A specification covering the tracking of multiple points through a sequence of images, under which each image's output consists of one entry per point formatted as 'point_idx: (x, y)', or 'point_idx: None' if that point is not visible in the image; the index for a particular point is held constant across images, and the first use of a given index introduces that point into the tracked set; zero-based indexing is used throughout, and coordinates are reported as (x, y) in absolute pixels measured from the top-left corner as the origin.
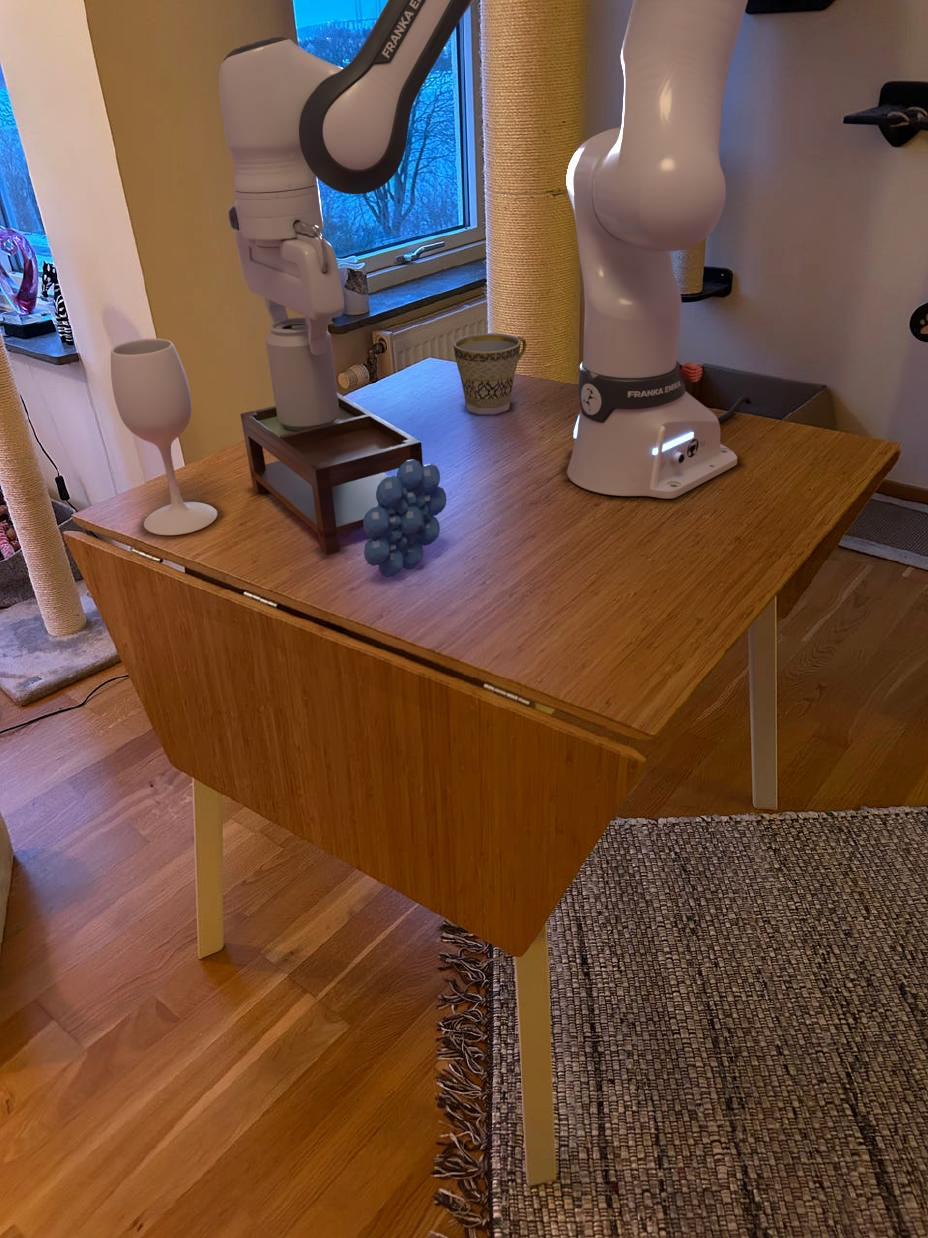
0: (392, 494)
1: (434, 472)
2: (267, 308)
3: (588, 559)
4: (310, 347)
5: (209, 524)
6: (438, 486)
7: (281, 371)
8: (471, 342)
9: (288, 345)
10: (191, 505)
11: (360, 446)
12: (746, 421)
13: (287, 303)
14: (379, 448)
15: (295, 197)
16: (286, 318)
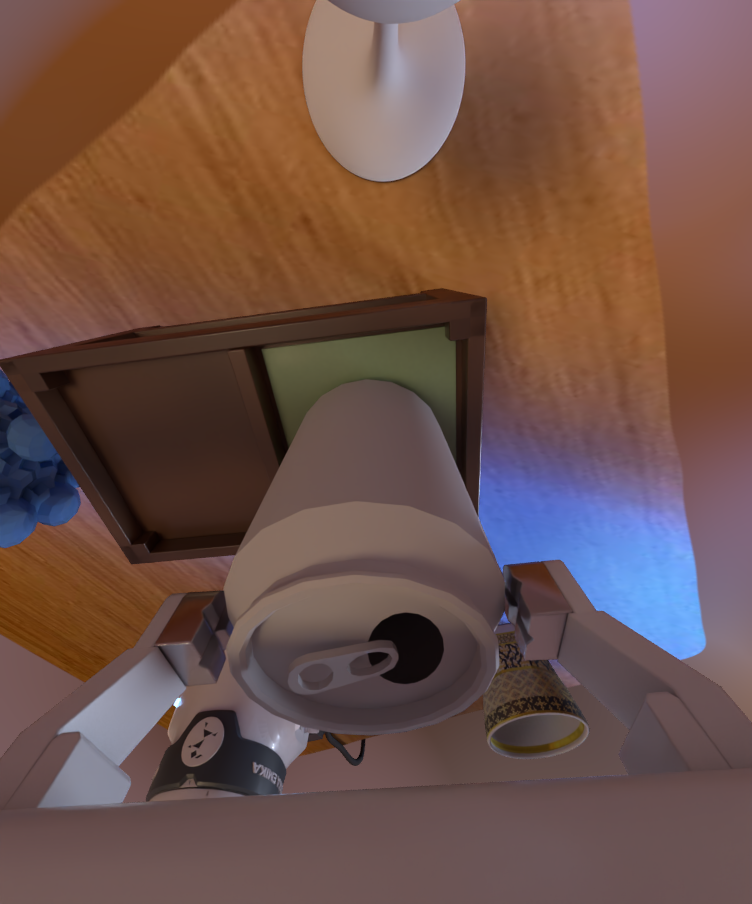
0: None
1: None
2: (680, 668)
3: (77, 568)
4: (166, 612)
5: (325, 146)
6: (50, 524)
7: (295, 460)
8: (578, 723)
9: (238, 561)
10: (398, 112)
11: (198, 482)
12: (324, 743)
13: (125, 868)
14: (178, 505)
15: None
16: (563, 658)
